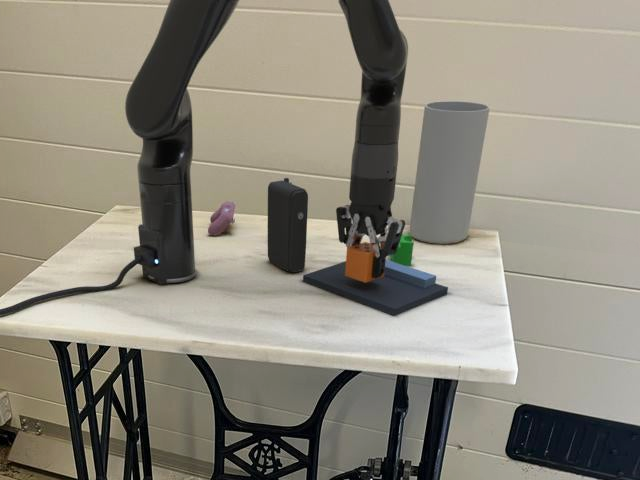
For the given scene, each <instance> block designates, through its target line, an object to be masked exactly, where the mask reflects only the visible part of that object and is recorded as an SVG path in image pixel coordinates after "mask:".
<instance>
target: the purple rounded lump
mask: <svg viewBox="0 0 640 480" xmlns="http://www.w3.org/2000/svg"><path fill="white" fill-rule="evenodd" d="M235 208H236V204H235V203H234V202H233V201H228V200H226V201H223V202H222V203H221V205H220V207H219V208H218V209H217V210H215V211H214V212H213V213H212V214H211V216H210V217H209V220H210V223H211V224H209V226H208V228H207V234H209V235H210V236H216V235H220V234H221V233H222V232H223V233H226V231H227V230H228V228H229V226H231V224H232V225H233V224H235V221H236V219H235V218H234V216H235Z"/></svg>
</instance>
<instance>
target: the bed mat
mask: <svg viewBox="0 0 640 480" xmlns="http://www.w3.org/2000/svg"><path fill="white" fill-rule="evenodd" d="M345 268H346V260H345V261H342V262H339V263H336V264H333V265H330V266H326V267H324V268H320V269H318V270H315V271H312V272H309V273H306V274H303V275H302V282H304V283H306V284H309V285H312V286H315V287H317V288H320V289H322V290H325V291H327V292H330V293H333V294H335V295H338V296H341V297H344V298H346V299H349V300H350V301H351V300H352V301H354V302H357V303H360V304H362V305H364V306H368V307H370V308H373V309H376V310H378V311H381V312H383V313H386V314H389V315H391V316H396V315H399V314H401V313H404V312H407V311H409V310H411V309H414V308H416V307H418V306H421V305H423V304H425V303H429V302H430V301H433V300H435V299H437V298H441V297H443V296H446V295H448V290H449V287H448V286H445V285H443V284H439V283H437V282H436V281H437V275H435V274H432V273H429V272H426V271H424V270H420V269H416V268H414V267H411V266H404V265H401V264H398V263H395V262H392V261H391V260H388V259H386V262H385V272H384V276H383V277H380V278H378V279H375V280H372V281H369V282H367V283H365V282H362V281H359V280H356V279H353V278H351V277H348V276H345Z"/></svg>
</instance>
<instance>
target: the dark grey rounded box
mask: <svg viewBox="0 0 640 480" xmlns="http://www.w3.org/2000/svg"><path fill="white" fill-rule="evenodd" d="M290 183H291V182H290ZM290 183H288V182H285V181H284V180H276V181H271V182H269V184H268V186H267V258H268V260H269V262H270V263H272V264H274V265H276V266H278V267H280V268H281V269H283V270H285V271H287V272H288V273H297V272H302V271H303V270H305V267H306V256H307V255H306V251H307V234H308V233H307V232H308V231H307V230H308V209H309V208H308V206H309V194H308V191H307V189H305V188H303V187H300V186H297V185H295V184H294V183H292V184H290Z"/></svg>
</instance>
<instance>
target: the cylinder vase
mask: <svg viewBox="0 0 640 480" xmlns="http://www.w3.org/2000/svg"><path fill="white" fill-rule="evenodd" d="M490 108H491V107H490V106H489V105H487V104H483V103H479V102H472V101H459V100H455V101H454V100H447V101H446V100H445V101H444V100H443V101H441V100H440V101H433V102H432V101H431V102H427V103H425V104H424V108H423V117H422V125H421V131H420V132H421V133H420V141H419V149H418V155H417V156H418V157H417V165H416V171H415V172H416V173H415V174H416V175H415V180H414V181H415V183H414V187H413V188H414V190H413V196H412V205H411V213H410V220H409V229H408V230H409V231H408V232H409V235H412V238H414V239H415V240H418V241H420V242H424V243H428V244H429V243H430V244H437V245H438V244H439V245H449V244H456V243H459V242H462V241H464V240H465V239H466V238H467V237H468V235H469V230H470V223H471V218H472V213H473V206H474V200H475V197H476V189H477V184H478V177H479V172H480V167H481V166H480V165H481V161H482V160H481V159H482V154H483V149H484V143H485V137H486V131H487V125H488V119H489V115H490Z"/></svg>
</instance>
